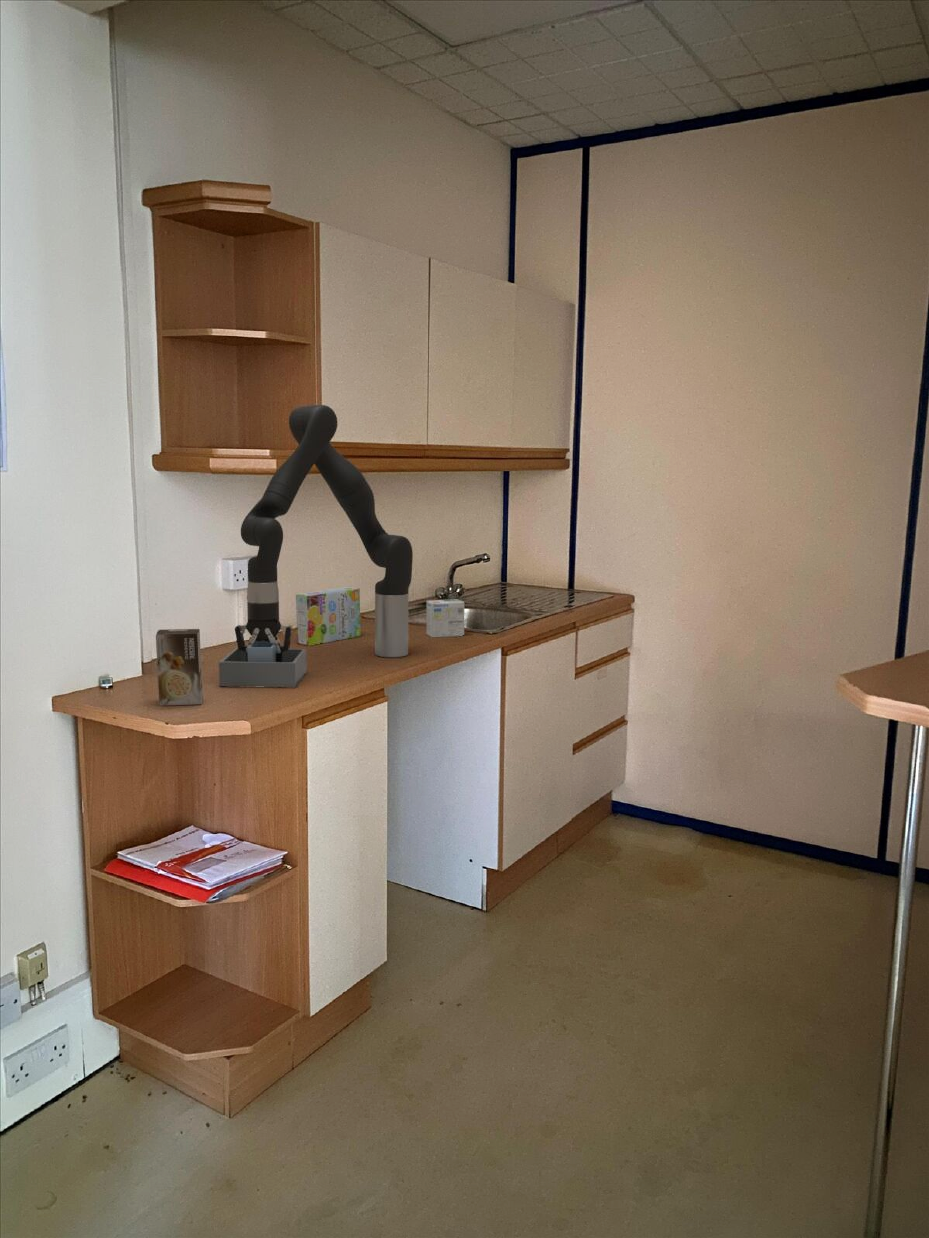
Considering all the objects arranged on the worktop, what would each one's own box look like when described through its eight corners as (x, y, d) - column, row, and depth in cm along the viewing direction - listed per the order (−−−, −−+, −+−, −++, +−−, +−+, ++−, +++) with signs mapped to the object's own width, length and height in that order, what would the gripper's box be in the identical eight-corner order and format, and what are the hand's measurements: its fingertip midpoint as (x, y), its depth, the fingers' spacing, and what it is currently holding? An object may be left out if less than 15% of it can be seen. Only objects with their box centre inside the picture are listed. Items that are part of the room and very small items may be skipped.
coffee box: (203, 697, 221) (201, 628, 218) (201, 705, 215) (198, 633, 212) (161, 699, 219) (158, 628, 217) (157, 706, 213) (155, 634, 211)
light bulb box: (457, 632, 307) (458, 598, 305) (465, 636, 301) (465, 601, 299) (425, 634, 303) (425, 599, 302) (432, 638, 297) (432, 603, 295)
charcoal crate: (235, 671, 248) (235, 648, 247) (306, 672, 248) (306, 649, 247) (219, 686, 231) (218, 662, 230) (295, 687, 232) (295, 663, 231)
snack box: (348, 634, 301) (348, 586, 299) (361, 636, 298) (361, 587, 295) (295, 644, 285) (295, 593, 282) (308, 646, 281) (308, 594, 279)
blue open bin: (256, 667, 244) (256, 639, 243) (280, 667, 244) (280, 640, 243) (248, 676, 235) (247, 647, 233) (273, 676, 235) (272, 647, 233)
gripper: (295, 597, 240) (296, 664, 243) (236, 597, 240) (238, 663, 243) (290, 602, 233) (291, 671, 236) (229, 601, 233) (231, 670, 236)
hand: (264, 667), depth 239 cm, fingers closed on blue open bin, 6 cm apart
